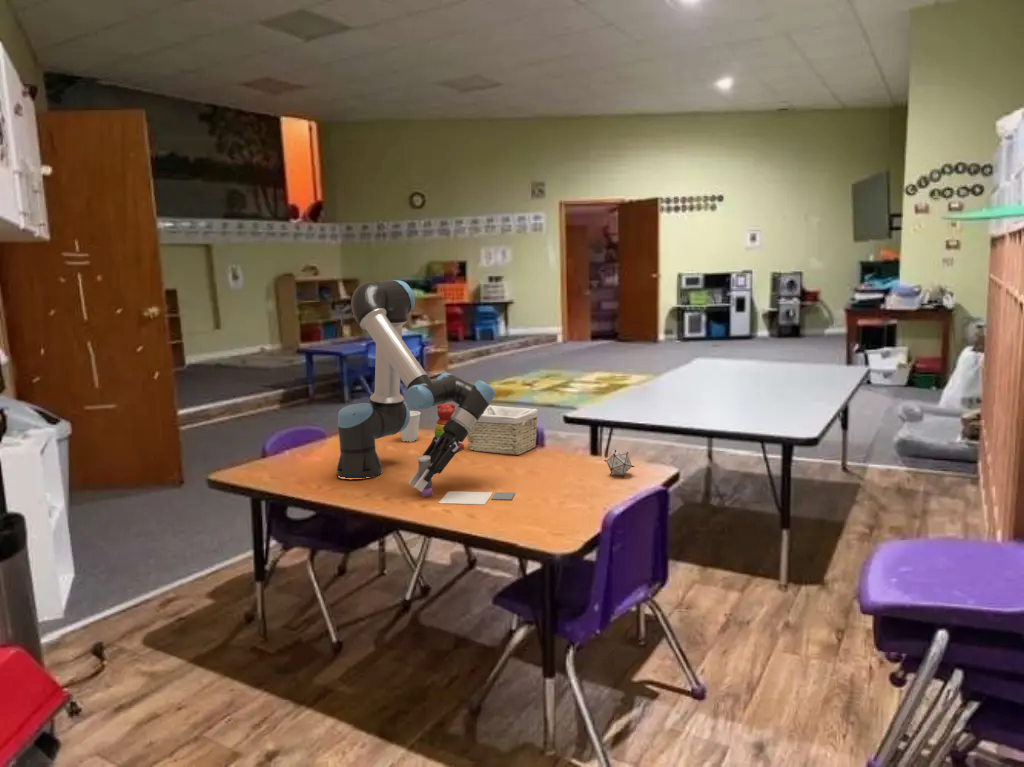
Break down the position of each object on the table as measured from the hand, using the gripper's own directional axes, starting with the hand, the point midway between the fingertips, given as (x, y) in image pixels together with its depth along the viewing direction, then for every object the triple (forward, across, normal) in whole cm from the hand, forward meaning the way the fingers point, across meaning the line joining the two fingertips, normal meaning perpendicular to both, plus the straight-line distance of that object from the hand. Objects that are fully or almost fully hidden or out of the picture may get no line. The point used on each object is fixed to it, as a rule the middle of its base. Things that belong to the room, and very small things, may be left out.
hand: (414, 487), depth 226 cm
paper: (-6, -11, -10) cm, 16 cm away
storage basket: (-34, +31, -39) cm, 60 cm away
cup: (-19, +66, -24) cm, 73 cm away
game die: (-41, -23, -46) cm, 65 cm away
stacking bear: (-22, +42, -27) cm, 55 cm away
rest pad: (-13, -17, -17) cm, 27 cm away
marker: (0, 0, -5) cm, 5 cm away
